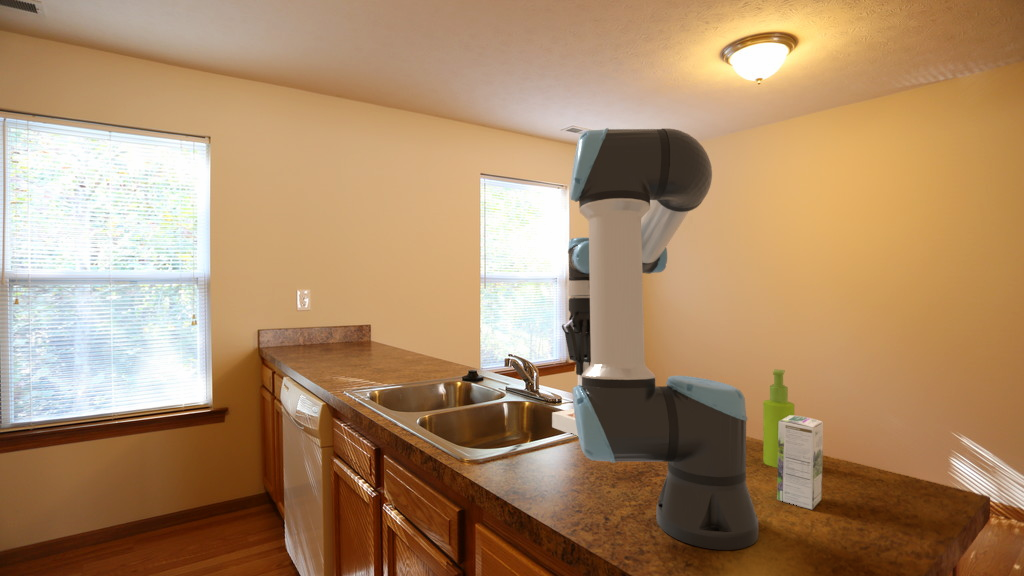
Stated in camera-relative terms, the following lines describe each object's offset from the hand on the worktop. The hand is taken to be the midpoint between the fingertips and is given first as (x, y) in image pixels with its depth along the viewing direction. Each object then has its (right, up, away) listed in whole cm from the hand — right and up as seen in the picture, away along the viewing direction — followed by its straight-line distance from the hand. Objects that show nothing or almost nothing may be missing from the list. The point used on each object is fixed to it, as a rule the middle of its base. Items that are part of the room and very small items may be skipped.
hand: (583, 387), depth 131 cm
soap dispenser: (+39, -12, -23) cm, 47 cm away
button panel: (+7, -12, +6) cm, 15 cm away
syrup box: (+33, -12, -42) cm, 55 cm away
